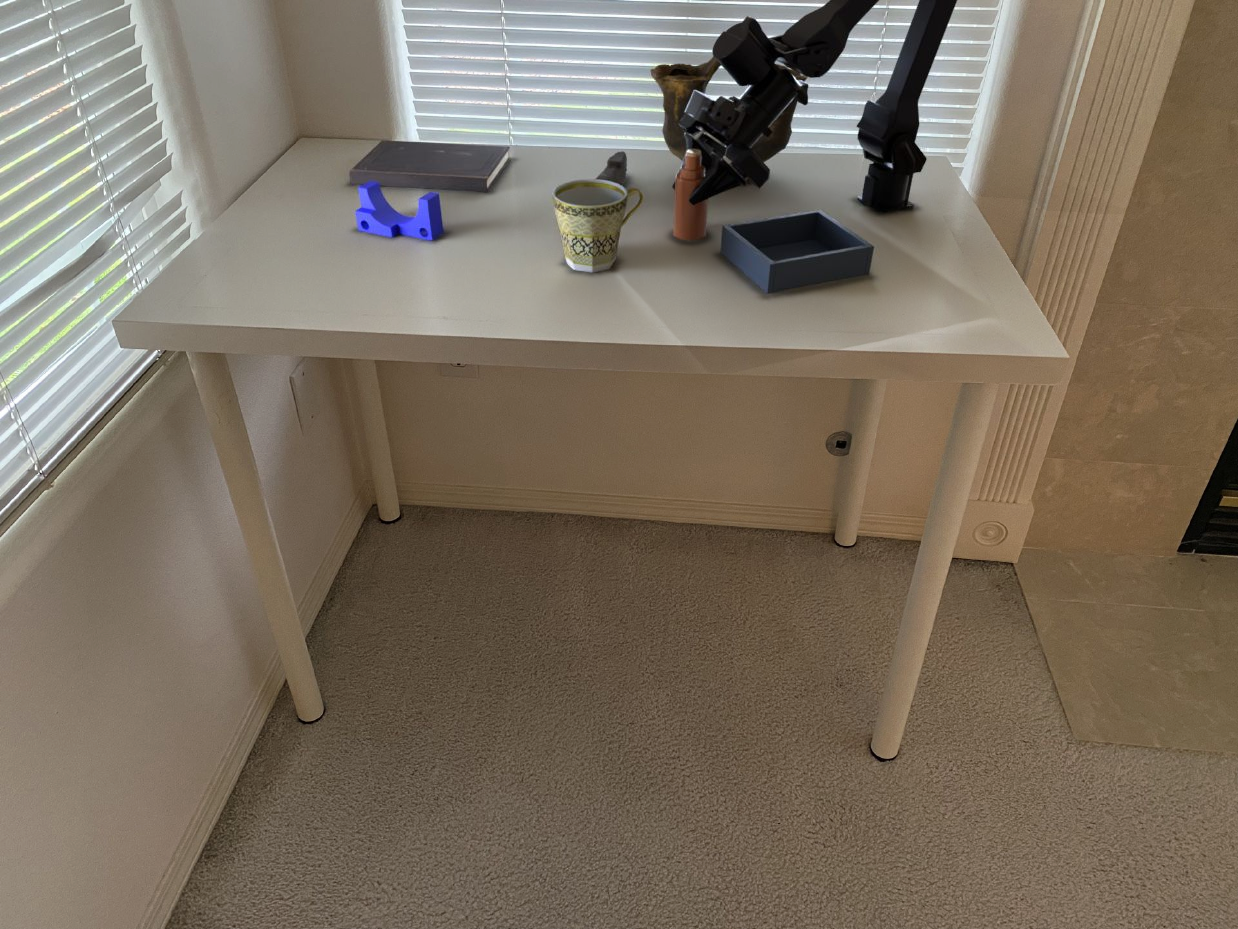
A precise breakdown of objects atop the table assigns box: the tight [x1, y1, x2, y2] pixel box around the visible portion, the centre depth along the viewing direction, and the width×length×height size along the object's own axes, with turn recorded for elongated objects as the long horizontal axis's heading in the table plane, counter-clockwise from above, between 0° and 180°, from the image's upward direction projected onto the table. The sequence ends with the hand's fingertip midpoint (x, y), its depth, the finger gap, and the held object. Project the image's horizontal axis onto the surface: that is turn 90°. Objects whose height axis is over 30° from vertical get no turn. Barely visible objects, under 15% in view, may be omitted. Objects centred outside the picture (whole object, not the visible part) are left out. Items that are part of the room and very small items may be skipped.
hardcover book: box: [348, 139, 511, 193], centre depth 157 cm, size 16×23×2 cm
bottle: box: [672, 149, 709, 241], centre depth 133 cm, size 5×5×12 cm
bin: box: [720, 209, 875, 295], centre depth 128 cm, size 16×14×4 cm
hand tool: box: [595, 150, 628, 187], centre depth 149 cm, size 19×4×5 cm, turn 160°
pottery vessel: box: [650, 55, 809, 183], centre depth 151 cm, size 25×11×20 cm, turn 96°
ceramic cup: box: [551, 178, 644, 273], centre depth 127 cm, size 13×10×10 cm
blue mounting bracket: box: [354, 181, 445, 242], centre depth 136 cm, size 12×4×6 cm, turn 65°
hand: (682, 196), depth 133 cm, fingers open, 5 cm apart
